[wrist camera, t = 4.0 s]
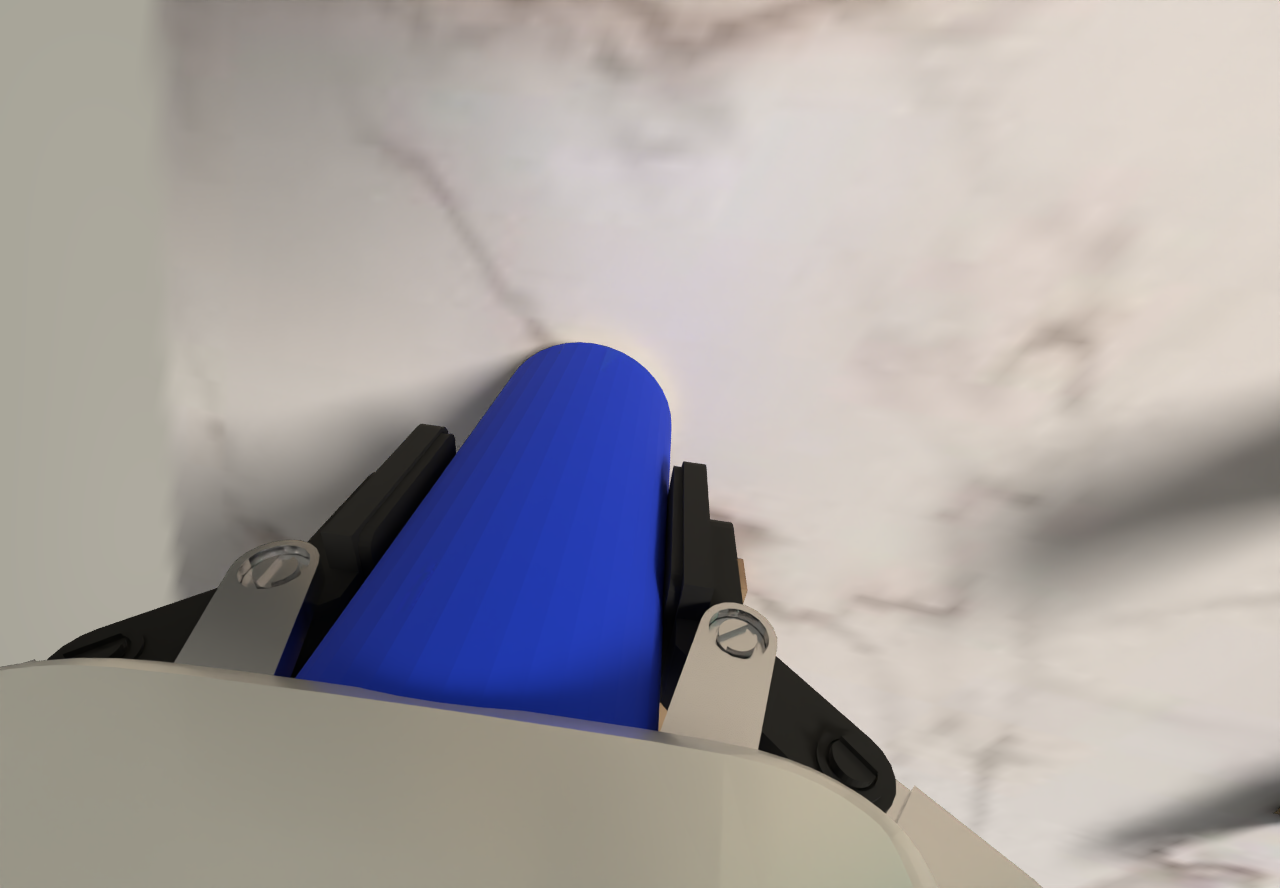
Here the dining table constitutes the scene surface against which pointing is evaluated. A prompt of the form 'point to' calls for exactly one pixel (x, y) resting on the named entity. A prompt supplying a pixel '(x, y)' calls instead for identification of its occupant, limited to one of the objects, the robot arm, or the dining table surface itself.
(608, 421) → the beverage can
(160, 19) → the dining table surface
